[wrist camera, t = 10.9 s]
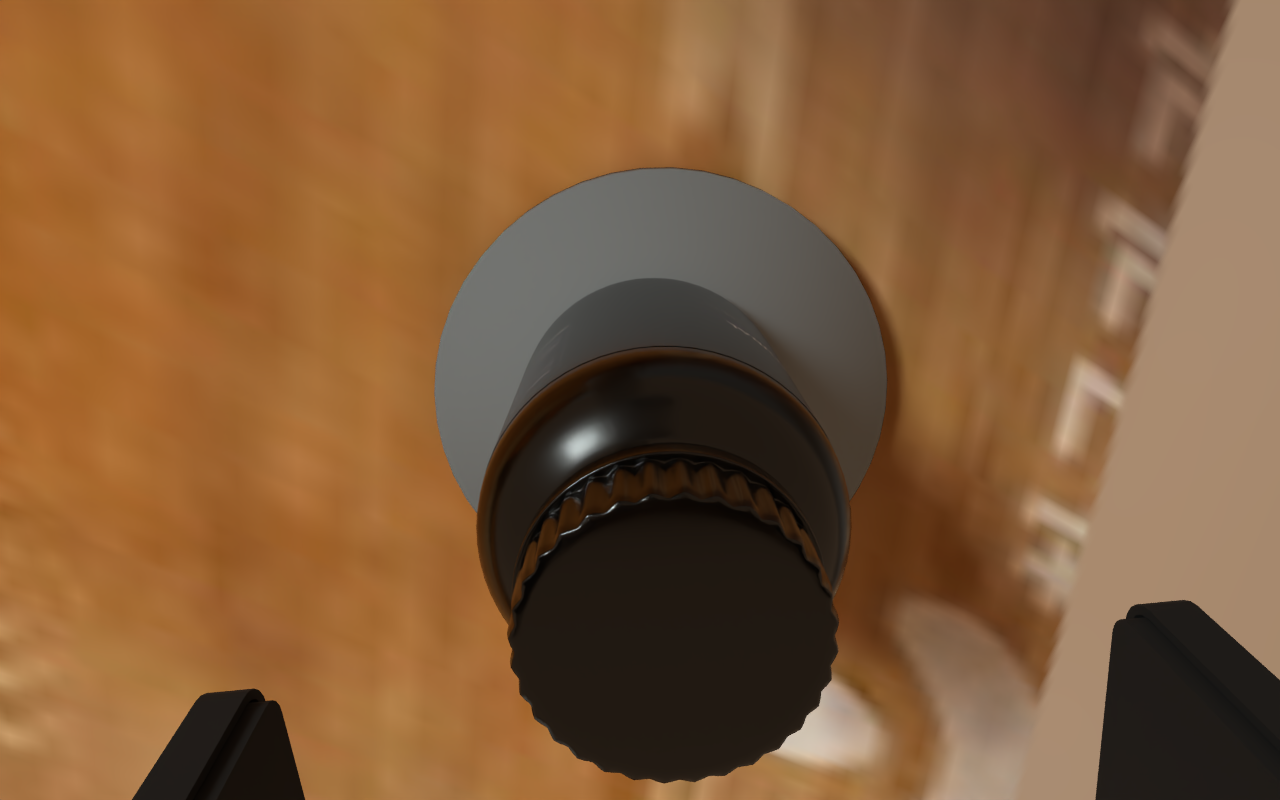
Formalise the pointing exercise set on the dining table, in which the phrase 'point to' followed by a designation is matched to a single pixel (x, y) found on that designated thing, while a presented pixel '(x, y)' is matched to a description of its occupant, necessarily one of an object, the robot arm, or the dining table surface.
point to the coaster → (673, 249)
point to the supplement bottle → (664, 535)
